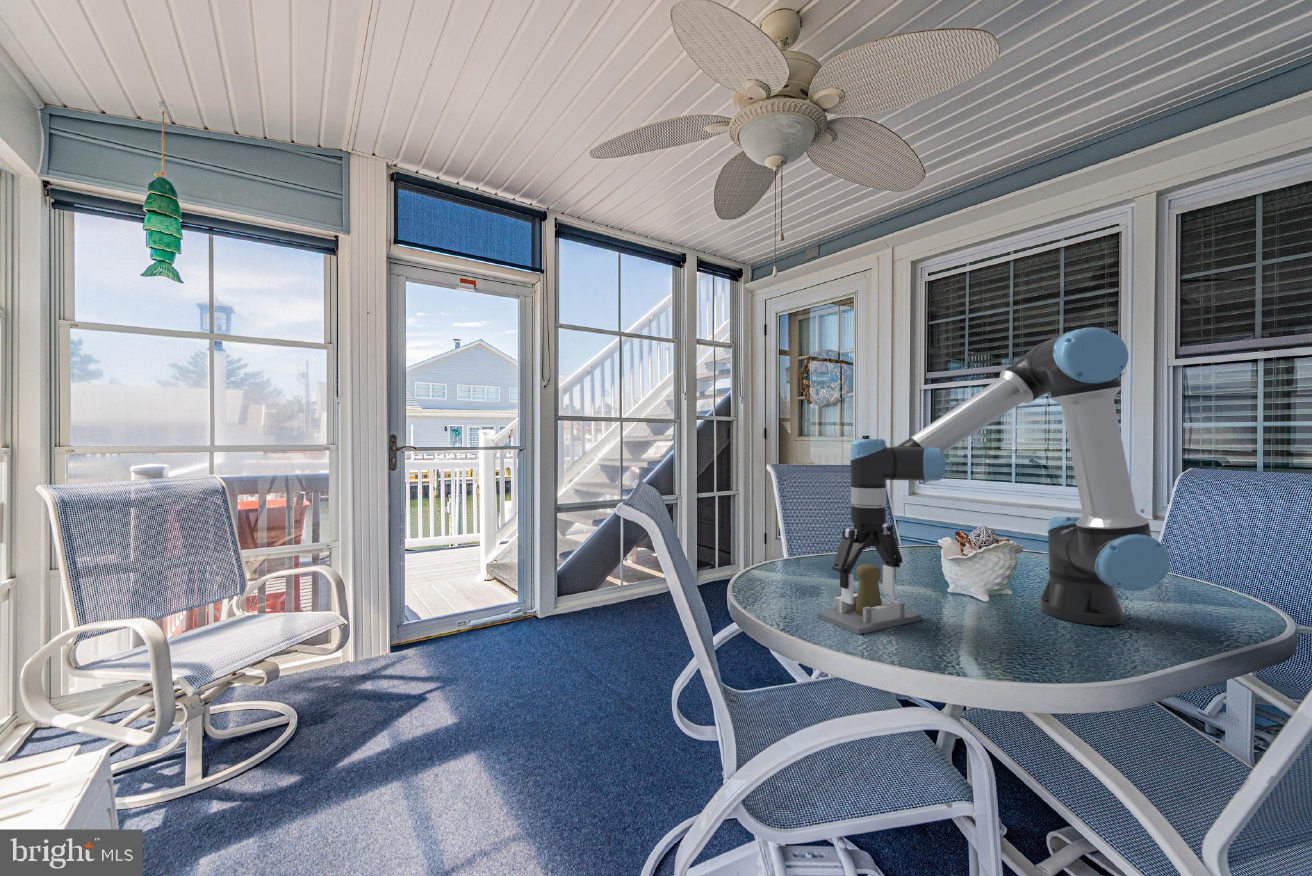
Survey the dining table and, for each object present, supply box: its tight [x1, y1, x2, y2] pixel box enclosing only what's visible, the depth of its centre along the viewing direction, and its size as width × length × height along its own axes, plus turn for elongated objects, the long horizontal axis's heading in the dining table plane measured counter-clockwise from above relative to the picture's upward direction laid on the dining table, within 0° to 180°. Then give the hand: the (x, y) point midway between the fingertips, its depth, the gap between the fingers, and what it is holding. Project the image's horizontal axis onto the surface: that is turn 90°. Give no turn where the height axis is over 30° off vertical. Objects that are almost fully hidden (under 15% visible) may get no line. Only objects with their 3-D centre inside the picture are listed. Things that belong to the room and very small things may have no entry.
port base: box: [816, 592, 922, 636], centre depth 119 cm, size 12×20×4 cm, turn 117°
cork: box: [855, 564, 882, 616], centre depth 119 cm, size 6×6×11 cm
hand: (868, 598), depth 119 cm, fingers open, 13 cm apart
